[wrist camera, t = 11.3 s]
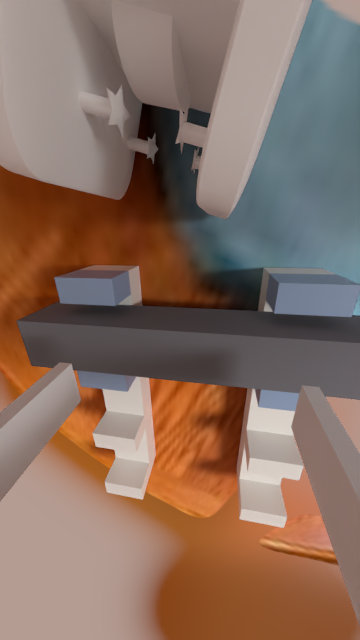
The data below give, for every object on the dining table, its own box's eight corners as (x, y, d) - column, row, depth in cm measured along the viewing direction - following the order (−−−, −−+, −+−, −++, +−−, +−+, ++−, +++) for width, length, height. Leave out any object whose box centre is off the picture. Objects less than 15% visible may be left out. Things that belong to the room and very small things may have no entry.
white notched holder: (322, 268, 18) (361, 285, 13) (272, 473, 28) (283, 527, 23) (94, 264, 21) (54, 277, 16) (125, 449, 31) (107, 492, 26)
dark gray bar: (373, 316, 16) (425, 347, 12) (357, 362, 18) (397, 403, 13) (57, 301, 20) (16, 320, 16) (67, 339, 22) (31, 365, 18)
